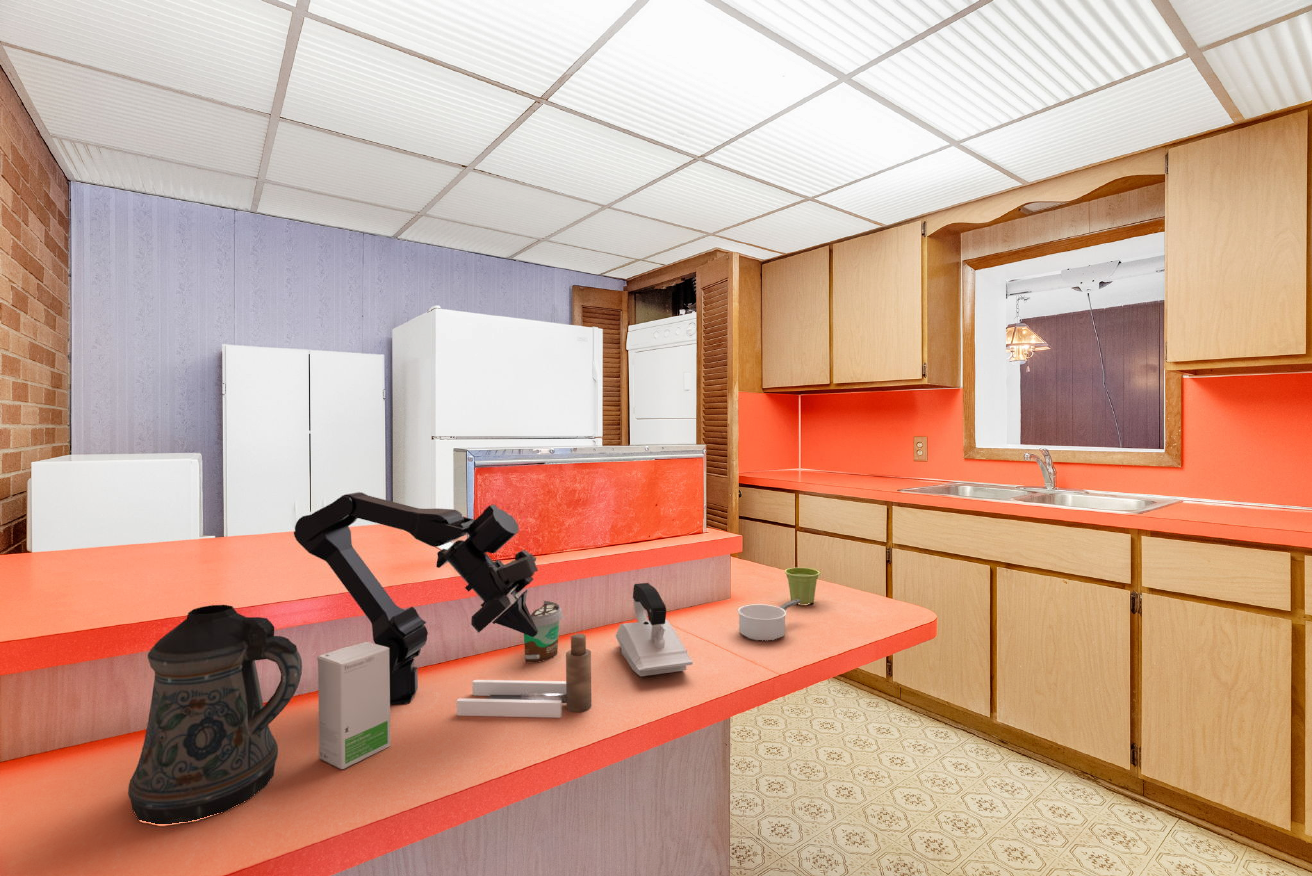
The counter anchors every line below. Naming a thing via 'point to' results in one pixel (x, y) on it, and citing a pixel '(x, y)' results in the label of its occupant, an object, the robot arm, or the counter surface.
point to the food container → (544, 633)
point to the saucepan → (763, 620)
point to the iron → (651, 636)
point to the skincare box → (353, 703)
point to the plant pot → (802, 584)
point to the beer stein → (210, 716)
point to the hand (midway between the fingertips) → (535, 634)
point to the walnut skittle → (578, 675)
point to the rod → (543, 696)
